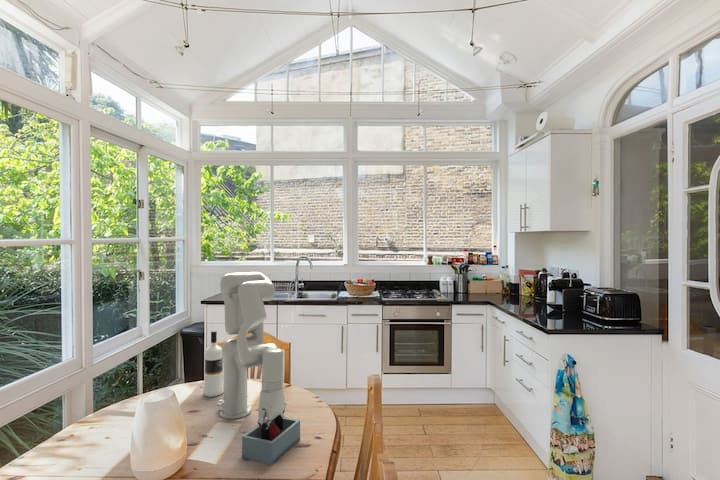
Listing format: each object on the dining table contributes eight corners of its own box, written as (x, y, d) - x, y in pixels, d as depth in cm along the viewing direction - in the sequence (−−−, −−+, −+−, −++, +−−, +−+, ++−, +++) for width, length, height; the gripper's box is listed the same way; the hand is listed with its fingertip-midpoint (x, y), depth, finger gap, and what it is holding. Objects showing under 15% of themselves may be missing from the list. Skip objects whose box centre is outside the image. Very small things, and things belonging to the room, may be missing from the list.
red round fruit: (283, 441, 142) (281, 417, 144) (275, 447, 137) (273, 423, 138) (269, 441, 144) (267, 418, 145) (260, 447, 139) (258, 423, 140)
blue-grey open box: (242, 457, 134) (242, 436, 134) (272, 433, 151) (272, 415, 151) (272, 464, 130) (272, 443, 130) (300, 439, 147) (300, 420, 147)
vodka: (204, 391, 194) (204, 329, 195) (224, 389, 197) (224, 328, 197) (201, 398, 185) (202, 333, 186) (222, 396, 188) (223, 332, 188)
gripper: (277, 375, 150) (276, 422, 150) (248, 391, 134) (248, 444, 134) (294, 377, 147) (294, 425, 147) (267, 394, 131) (267, 448, 131)
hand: (272, 434), depth 141 cm, fingers open, 7 cm apart
